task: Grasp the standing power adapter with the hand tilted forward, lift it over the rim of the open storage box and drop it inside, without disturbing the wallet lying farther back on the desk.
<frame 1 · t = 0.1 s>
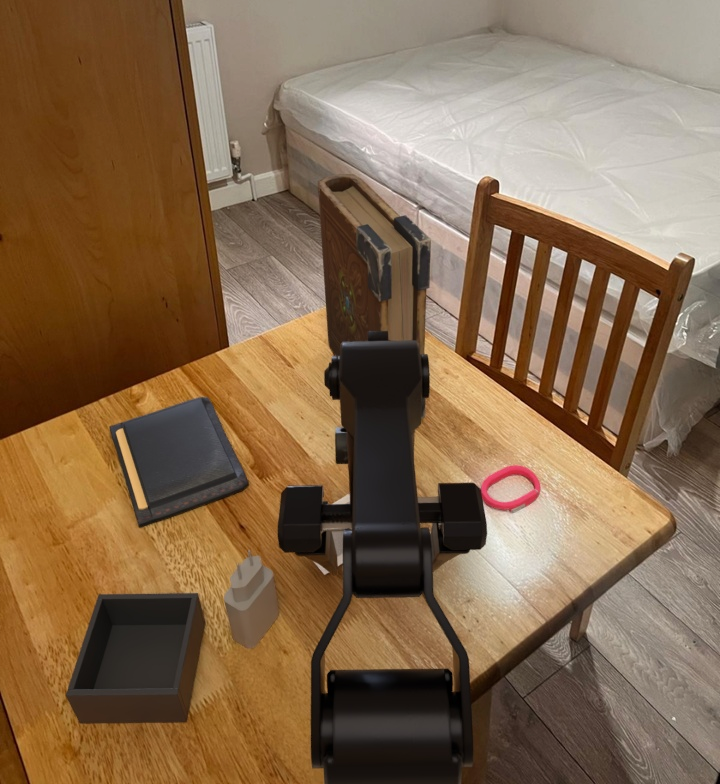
hand: (382, 570, 72), 12 cm above the table, tool pointing down, fingers open, 9 cm apart
decorative book: (369, 377, 114), on the table
touchpad: (356, 526, 91), on the table
open storage box: (146, 670, 77), on the table
fitness band: (510, 493, 95), on the table
wallet: (177, 458, 101), on the table
power adapter: (256, 625, 81), on the table
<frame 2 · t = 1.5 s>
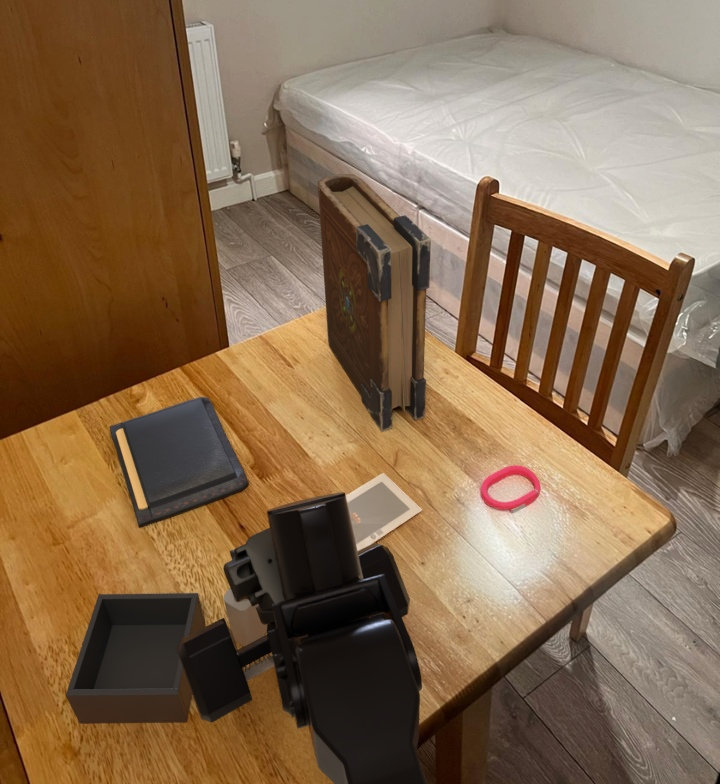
hand: (275, 611, 67), 13 cm above the table, tool tilted 45°, fingers open, 9 cm apart
nothing on the table moved.
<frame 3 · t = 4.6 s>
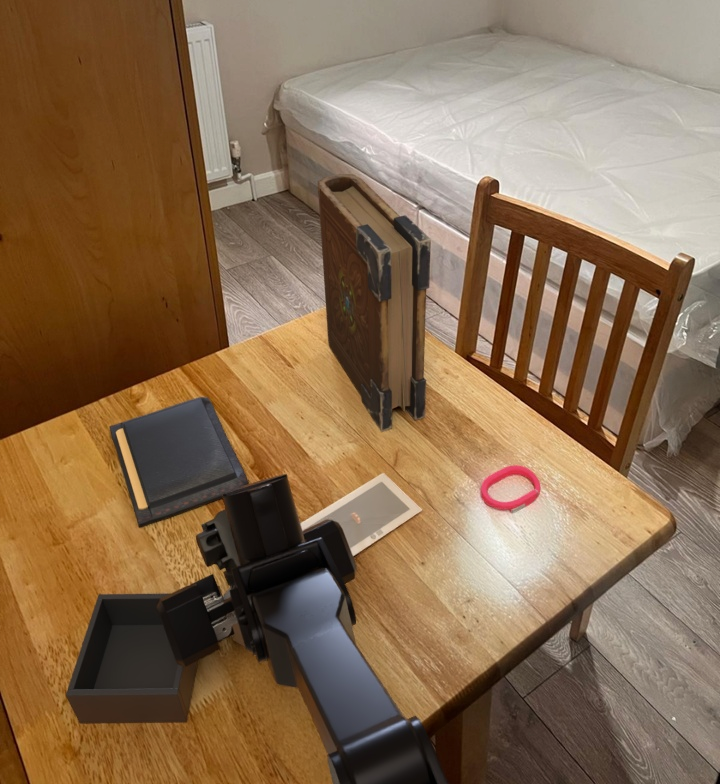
hand: (244, 578, 78), 7 cm above the table, tool tilted 45°, fingers closed on power adapter, 6 cm apart
power adapter: (256, 625, 81), on the table, touching gripper
everything else where it was.
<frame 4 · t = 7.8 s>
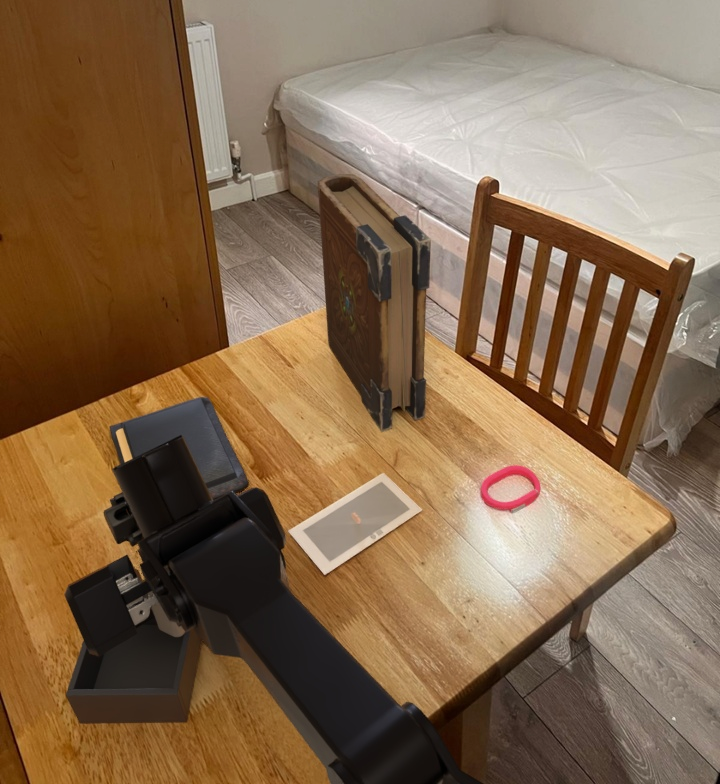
hand: (166, 561, 72), 13 cm above the table, tool tilted 45°, fingers closed on power adapter, 6 cm apart
power adapter: (184, 612, 75), point 7 cm above the table, touching gripper
everything else where it was.
when the fingers open (7 cm above the table, at t = 11.0 s): power adapter stays where it is, resting on open storage box.
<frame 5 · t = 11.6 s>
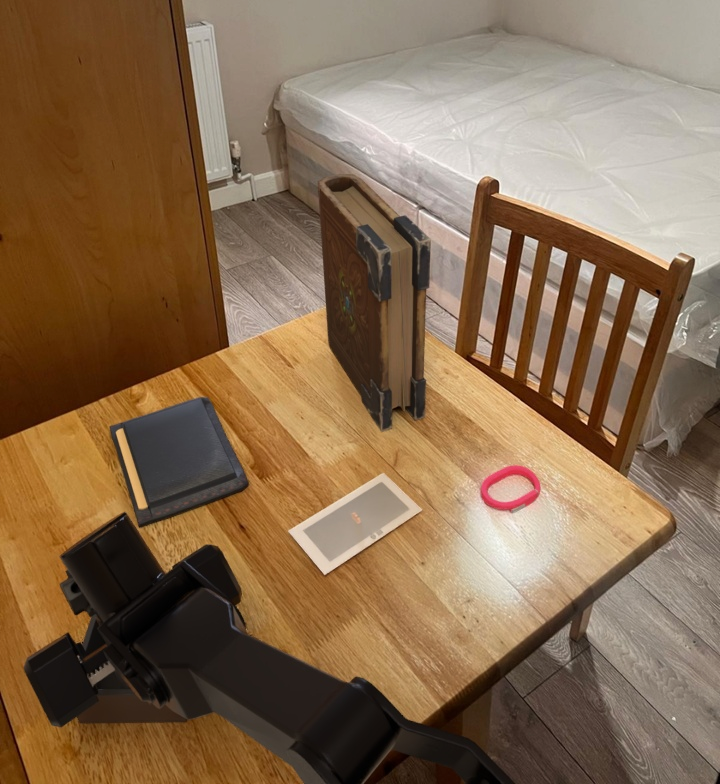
hand: (124, 619, 73), 8 cm above the table, tool tilted 45°, fingers open, 9 cm apart
power adapter: (146, 669, 76), resting on open storage box
everything else where it was.
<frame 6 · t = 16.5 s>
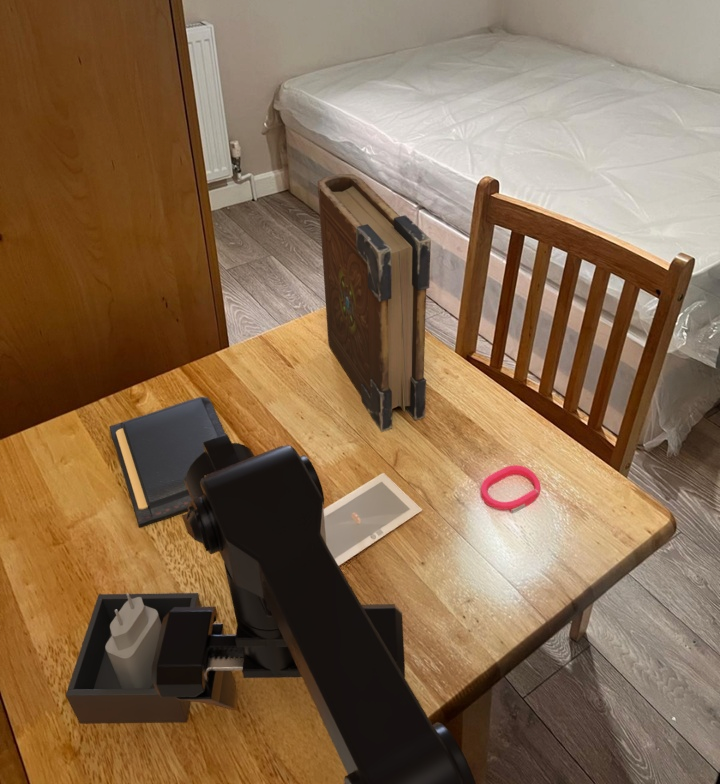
hand: (290, 703, 61), 13 cm above the table, tool pointing down, fingers open, 9 cm apart
nothing on the table moved.
at the end: power adapter inside the target area in the open storage box (0.1 cm from its centre), point 0.3 cm above the open storage box's base; the gripper is holding nothing; wallet moved 0.2 cm from its start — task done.
